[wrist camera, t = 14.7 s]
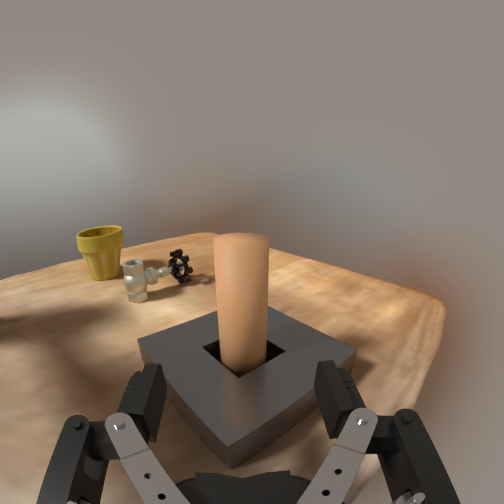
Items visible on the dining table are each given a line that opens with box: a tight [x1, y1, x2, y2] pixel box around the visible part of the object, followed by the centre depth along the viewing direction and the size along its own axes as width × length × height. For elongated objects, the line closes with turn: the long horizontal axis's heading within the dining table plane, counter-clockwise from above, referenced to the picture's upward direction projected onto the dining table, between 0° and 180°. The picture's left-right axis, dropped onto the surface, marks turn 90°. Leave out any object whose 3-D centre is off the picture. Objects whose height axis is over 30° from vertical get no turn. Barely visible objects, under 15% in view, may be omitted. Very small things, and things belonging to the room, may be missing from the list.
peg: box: [214, 233, 269, 378], centre depth 24 cm, size 4×4×15 cm
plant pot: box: [77, 226, 123, 280], centre depth 51 cm, size 10×10×10 cm
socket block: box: [137, 306, 357, 470], centre depth 26 cm, size 16×16×4 cm
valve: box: [123, 249, 193, 303], centre depth 45 cm, size 7×7×12 cm
